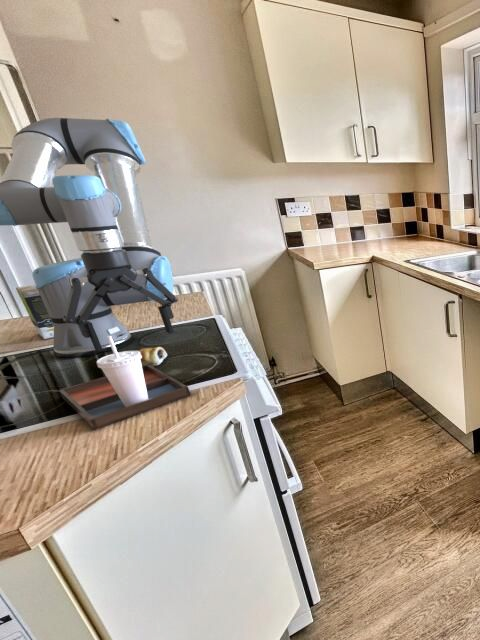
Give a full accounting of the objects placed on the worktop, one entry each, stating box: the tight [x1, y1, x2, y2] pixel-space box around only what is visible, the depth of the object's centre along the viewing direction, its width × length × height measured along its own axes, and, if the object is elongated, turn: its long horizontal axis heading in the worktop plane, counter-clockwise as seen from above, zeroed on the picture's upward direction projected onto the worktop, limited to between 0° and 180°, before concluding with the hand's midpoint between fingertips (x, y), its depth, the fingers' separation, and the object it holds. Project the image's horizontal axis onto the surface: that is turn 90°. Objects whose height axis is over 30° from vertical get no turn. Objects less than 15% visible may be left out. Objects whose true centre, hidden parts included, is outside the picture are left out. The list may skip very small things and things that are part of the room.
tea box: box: [15, 284, 54, 340], centre depth 126 cm, size 15×10×15 cm, turn 144°
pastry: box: [136, 346, 168, 367], centre depth 102 cm, size 9×7×4 cm
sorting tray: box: [58, 364, 191, 430], centre depth 86 cm, size 22×15×2 cm
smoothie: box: [96, 336, 148, 406], centre depth 80 cm, size 6×6×14 cm
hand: (136, 340), depth 100 cm, fingers open, 13 cm apart
